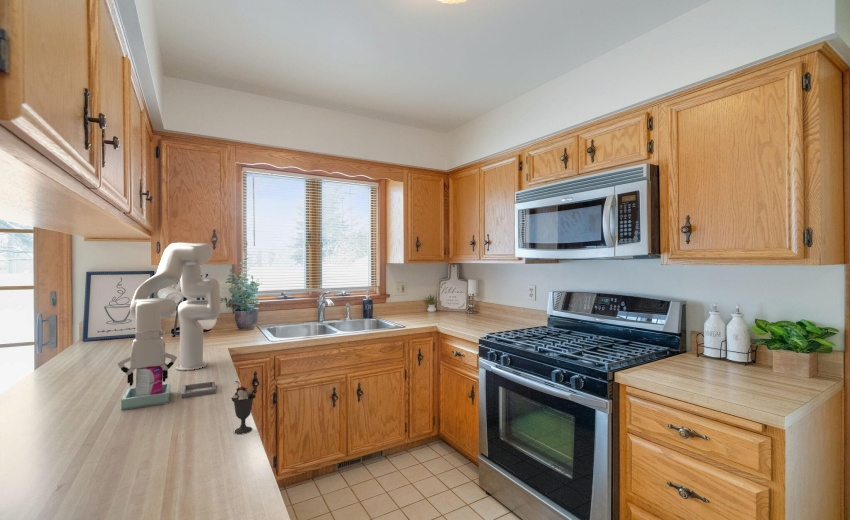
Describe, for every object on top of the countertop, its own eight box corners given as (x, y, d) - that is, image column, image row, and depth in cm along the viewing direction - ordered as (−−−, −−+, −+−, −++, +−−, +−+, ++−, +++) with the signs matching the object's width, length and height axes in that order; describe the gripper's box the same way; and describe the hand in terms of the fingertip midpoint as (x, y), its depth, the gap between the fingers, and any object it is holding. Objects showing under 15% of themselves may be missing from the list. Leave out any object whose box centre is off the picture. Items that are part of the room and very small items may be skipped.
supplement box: (148, 402, 136) (149, 369, 136) (134, 400, 137) (135, 368, 137) (162, 396, 142) (163, 365, 142) (149, 395, 143) (149, 364, 143)
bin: (127, 398, 142) (127, 388, 142) (170, 392, 148) (170, 382, 148) (121, 410, 130) (121, 399, 130) (168, 403, 137) (168, 393, 137)
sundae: (226, 430, 116) (227, 380, 116) (249, 424, 120) (250, 375, 121) (235, 437, 111) (236, 385, 111) (258, 430, 116) (259, 380, 116)
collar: (182, 389, 152) (182, 385, 152) (214, 385, 157) (214, 381, 157) (181, 397, 142) (181, 393, 142) (215, 393, 148) (215, 389, 148)
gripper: (177, 331, 147) (177, 376, 147) (119, 335, 138) (119, 383, 138) (176, 335, 141) (176, 382, 141) (116, 339, 132) (115, 389, 132)
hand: (148, 382), depth 140 cm, fingers open, 9 cm apart
